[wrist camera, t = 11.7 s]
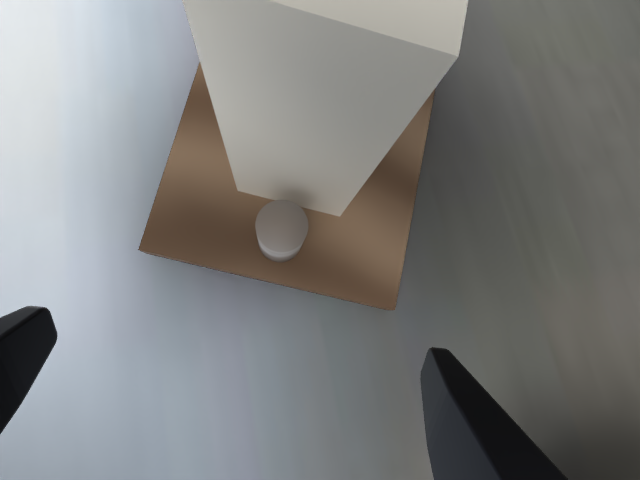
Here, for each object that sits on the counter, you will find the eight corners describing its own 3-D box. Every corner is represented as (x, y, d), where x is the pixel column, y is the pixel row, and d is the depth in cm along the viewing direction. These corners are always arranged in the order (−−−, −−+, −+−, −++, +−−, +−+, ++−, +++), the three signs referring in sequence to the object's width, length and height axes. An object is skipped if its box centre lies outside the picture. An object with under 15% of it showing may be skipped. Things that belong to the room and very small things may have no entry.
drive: (339, 216, 18) (459, 55, 7) (237, 190, 18) (174, -27, 6) (366, 97, 20) (504, -213, 8) (271, 70, 19) (270, -297, 8)
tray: (387, 310, 19) (424, 310, 15) (146, 253, 18) (105, 235, 14) (432, 68, 22) (475, 4, 17) (225, 8, 21) (213, -77, 16)
